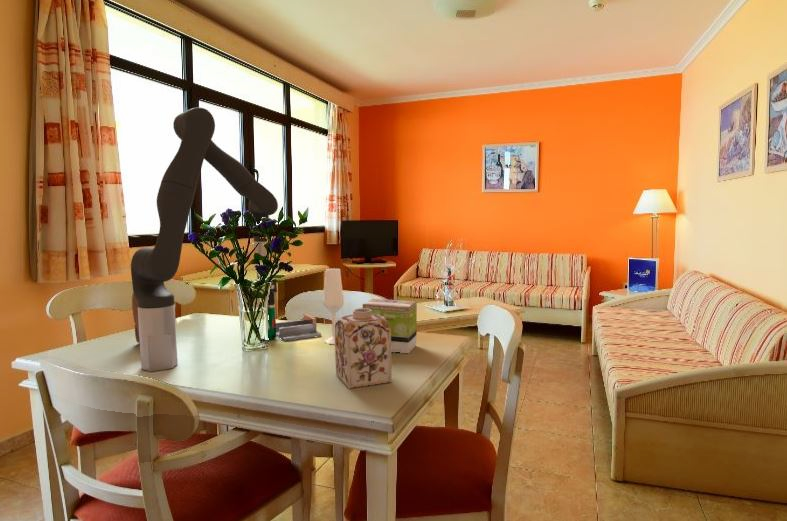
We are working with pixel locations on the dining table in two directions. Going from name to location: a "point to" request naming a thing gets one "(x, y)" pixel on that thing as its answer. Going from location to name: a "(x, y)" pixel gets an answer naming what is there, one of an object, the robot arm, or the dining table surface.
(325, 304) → the champagne flute
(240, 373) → the dining table surface
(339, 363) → the decorative jar
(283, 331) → the coupler bracket
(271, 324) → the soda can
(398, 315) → the tea box
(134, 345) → the dining table surface
